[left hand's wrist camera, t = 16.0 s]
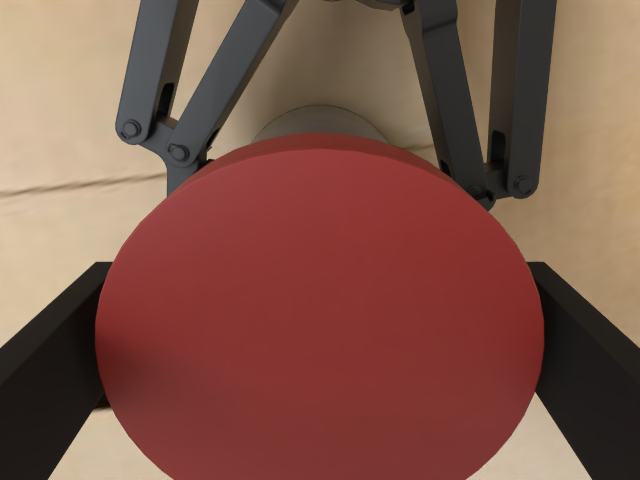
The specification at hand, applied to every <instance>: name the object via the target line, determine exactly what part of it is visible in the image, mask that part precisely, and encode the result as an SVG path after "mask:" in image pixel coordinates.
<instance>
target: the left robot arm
mask: <svg viewBox="0 0 640 480" xmlns="http://www.w3.org/2000/svg"><path fill="white" fill-rule="evenodd" d="M526 263H527V265H528V267H529V268H530V270H531V273H532V276H533V279H534V282H535V284H536V287H537V290H538V293H539V296H540V302H541V307H542V313H543V318H544V353H543V360H542V367H541V372H540V376H539V379H538V383H537V386H536V389H535V392H536V394H537V395H538V397H539V398H540V400H541V401H542V403H543V404H544V406H545V408H546V409H547V411H548V412H549V414H550V415H551V417H552V418H553V420H554V421H555V423H556V424H557V426H558V428H559V429H560V431H561V432H562V434H563V435H564V437H565V438H566V440H567V441H568V443H569V445H570V446H571V448H572V449H573V451H574V452H575V454H576V455H577V457H578V458H579V460H580V461H581V463H582V465H583V466H584V468H585V469H586V471H587V472H588V474H589V475H590V477H591V478H592V480H640V348H639V347H638V346H637V345H636V344H634V343H633V342H632V341H631V340H630V339H629V338H628V337H627V336H626V335H624V334H623V333H622V332H621V331H620V330H619V329H618V328H617V327H616V326H615V325H613V324H612V323H611V322H610V321H609V320H608V319H607V318H606V317H605V316H603V315H602V314H601V313H600V312H599V311H598V310H597V309H596V308H595V307H593V306H592V305H591V304H590V303H589V302H588V301H587V300H586V299H585V298H583V297H582V296H581V295H580V294H579V293H578V292H577V291H576V290H575V289H573V288H572V287H571V286H570V285H569V284H568V283H567V282H566V281H565V280H564V279H562V278H561V277H560V276H559V275H558V274H557V273H556V272H555V271H554V270H552V269H551V268H550V267H549V266H548V265H547V264H546V263H545V262H526ZM112 264H113V262H95V263H94V264H93V265H92V266H91V267H90V268H89V269H88V270H86V271H85V272H84V273H83V274H82V275H81V276H80V277H79V278H78V279H76V280H75V281H74V282H73V283H72V284H71V285H70V286H69V287H68V288H67V289H65V290H64V291H63V292H62V293H61V294H60V295H59V296H58V297H57V298H55V299H54V300H53V301H52V302H51V303H50V304H49V305H48V306H47V307H45V308H44V309H43V310H42V311H41V312H40V313H39V314H38V315H37V316H35V317H34V318H33V319H32V320H31V321H30V322H29V323H28V324H27V325H25V326H24V327H23V328H22V329H21V330H20V331H19V332H18V333H17V334H15V335H14V336H13V337H12V338H11V339H10V340H9V341H8V342H7V343H6V344H4V345H3V346H2V347H1V348H0V480H48V478H49V477H50V475H51V474H52V472H53V471H54V469H55V468H56V466H57V465H58V463H59V461H60V460H61V458H62V457H63V455H64V454H65V452H66V451H67V449H68V448H69V446H70V445H71V443H72V441H73V440H74V438H75V437H76V435H77V434H78V432H79V431H80V429H81V428H82V426H83V424H84V423H85V421H86V420H87V418H88V417H89V415H90V414H91V412H92V411H93V409H94V408H95V406H96V404H97V403H98V401H99V400H100V398H101V397H102V395H103V394H104V392H105V391H104V388H103V384H102V381H101V378H100V374H99V371H98V364H97V357H96V350H95V321H96V315H97V310H98V304H99V298H100V294H101V291H102V288H103V286H104V283H105V280H106V277H107V274H108V271H109V269H110V267H111V265H112Z"/></svg>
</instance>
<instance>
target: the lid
mask: <svg viewBox="0 0 640 480" xmlns="http://www.w3.org/2000/svg"><path fill="white" fill-rule="evenodd" d="M95 350H96V357H97V364H98V371H99V374H100V378H101V381H102V384H103V388H104V391H105V394H106V396H107V399H108V401H109V403H110V405H111V407H112V409H113V411H114V414H115V416H116V417H117V419H118V420H119V422H120V423H121V425H122V427H123V428H124V430H125V431H126V433H127V434H128V436H129V437H130V438H131V439H132V441H133V442H134V443H135V444H136V445H137V447H138V448H139V449H140V450H141V451H142V452H143V454H144V455H145V456H146V457H147V458H149V459H150V460H151V461H152V462H153V463H154V464H155V465H156V466H157V467H158V468H159V469H160V470H162V471H163V472H164V473H166V474H167V475H168V476H170V477H171V478H172V479H174V480H466V479H467V478H468V477H470V476H471V475H473V474H474V473H475V472H477V471H478V470H479V469H480V468H481V467H482V466H483V465H484V464H486V463H487V462H488V461H489V460H490V459H491V458H492V457H493V456H494V455H495V454H496V453H497V452H498V451H499V449H500V448H501V447H502V446H503V445H504V444H505V442H506V441H507V440H508V439H509V438H510V436H511V435H512V434H513V432H514V430H515V429H516V427H517V426H518V424H519V423H520V421H521V420H522V418H523V416H524V415H525V412H526V410H527V408H528V406H529V404H530V402H531V399H532V397H533V395H534V393H535V389H536V386H537V383H538V379H539V376H540V372H541V367H542V360H543V353H544V318H543V313H542V307H541V302H540V296H539V293H538V290H537V287H536V284H535V282H534V279H533V276H532V273H531V270H530V268H529V267H528V265H527V263H526V261H525V259H524V257H523V256H522V254H521V252H520V250H519V248H518V247H517V245H516V244H515V242H514V241H513V240H512V238H511V237H510V236H509V235H508V233H507V232H506V231H505V229H504V228H503V227H502V226H501V224H500V223H499V222H498V221H497V220H496V219H495V218H494V217H493V216H492V215H491V214H490V213H489V212H488V211H487V210H485V209H484V208H483V207H482V206H481V205H480V204H479V203H478V202H477V201H476V200H475V199H474V198H473V197H471V196H470V195H469V194H468V193H467V192H466V191H465V190H464V189H463V188H461V187H460V186H459V185H458V184H457V183H456V182H455V181H454V180H453V179H452V178H450V177H449V176H448V175H446V174H445V173H443V172H442V171H441V170H439V169H438V168H436V167H435V166H433V165H432V164H431V163H429V162H428V161H426V160H424V159H422V158H420V157H418V156H416V155H414V154H412V153H410V152H408V151H406V150H404V149H402V148H399V147H396V146H393V145H390V144H387V143H384V142H381V141H378V140H375V139H370V138H365V137H360V136H355V135H350V134H338V133H322V132H316V133H302V134H289V135H284V136H280V137H275V138H270V139H265V140H261V141H258V142H255V143H252V144H249V145H247V146H244V147H241V148H238V149H235V150H233V151H231V152H229V153H227V154H226V155H224V156H222V157H220V158H218V159H216V160H214V161H212V162H210V163H209V164H207V165H206V166H205V167H203V168H202V169H200V170H199V171H198V172H196V173H195V174H193V175H192V176H190V177H189V178H188V179H187V180H186V181H185V182H183V183H182V184H181V185H180V186H179V187H178V188H177V189H176V190H175V191H173V192H172V193H171V194H170V195H169V196H168V197H167V198H166V199H164V200H163V201H162V202H161V203H160V204H159V205H158V206H157V207H156V208H155V209H154V210H153V211H152V212H151V213H150V214H149V215H148V216H147V217H145V218H144V219H143V220H142V221H141V222H140V223H139V225H138V226H137V227H136V229H135V230H134V231H133V232H132V234H131V235H130V236H129V238H128V239H127V240H126V242H125V243H124V244H123V245H122V247H121V249H120V251H119V253H118V254H117V256H116V258H115V260H114V262H113V264H112V265H111V267H110V269H109V271H108V274H107V277H106V280H105V283H104V286H103V288H102V291H101V294H100V298H99V304H98V310H97V315H96V321H95Z"/></svg>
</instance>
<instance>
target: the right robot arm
mask: <svg viewBox="0 0 640 480" xmlns="http://www.w3.org/2000/svg"><path fill="white" fill-rule="evenodd" d="M298 1H299V0H246V1H245V3H244V5H243V6H242V8H241V10H240V12H239V13H238V15H237V17H236V19H235V21H234V22H233V24H232V26H231V28H230V30H229V31H228V33H227V35H226V37H225V39H224V40H223V42H222V44H221V46H220V48H219V49H218V51H217V53H216V55H215V56H214V58H213V60H212V62H211V64H210V65H209V67H208V69H207V71H206V73H205V74H204V76H203V78H202V80H201V82H200V83H199V85H198V87H197V89H196V91H195V92H194V94H193V96H192V98H191V99H190V101H189V103H188V105H187V107H186V108H185V110H184V112H183V114H182V116H181V117H180V119H179V121H177V120H175V119H173V118H171V117H170V114H171V110H172V106H173V102H174V98H175V94H176V90H177V86H178V82H179V78H180V74H181V70H182V66H183V63H184V59H185V55H186V51H187V47H188V43H189V39H190V35H191V31H192V27H193V23H194V19H195V15H196V11H197V7H198V3H199V0H141V3H140V8H139V12H138V17H137V22H136V27H135V32H134V36H133V41H132V46H131V51H130V56H129V60H128V65H127V70H126V75H125V80H124V84H123V89H122V94H121V99H120V104H119V108H118V113H117V118H116V123H115V129H116V132H117V135H118V136H119V137H120V139H121V140H122V141H124V142H125V143H127V144H131V145H137V144H138V145H140V146H142V147H144V148H146V149H148V150H150V151H152V152H154V153H156V154H157V155H159V156H160V157H161V158H162V159H163V161H164V162H165V165H166V167H167V197H168V196H169V195H170V194H171V193H172V192H173V191H175V190H176V189H177V188H178V187H179V186H180V185H181V184H182V183H183V182H185V181H186V180H187V179H188V178H189V177H190V176H192V175H193V174H195V173H196V172H198V171H199V170H200V169H202V168H203V167H205V166H206V165H207V164H209V163H210V162H212V161H214V159H208V160H207V161H206V159H207V152H208V151H209V150H210V149H211V148H212V147H211V145H212V143H213V141H214V140H215V138H216V136H217V135H218V133H219V131H220V130H221V128H222V126H223V125H224V123H225V121H226V120H227V118H228V116H229V115H230V113H231V111H232V110H233V108H234V106H235V105H236V103H237V101H238V99H239V98H240V96H241V94H242V93H243V91H244V89H245V88H246V86H247V84H248V83H249V81H250V79H251V78H252V76H253V74H254V73H255V71H256V69H257V68H258V66H259V64H260V63H261V61H262V59H263V58H264V56H265V54H266V53H267V51H268V49H269V47H270V46H271V44H272V42H273V41H274V39H275V37H276V36H277V34H278V32H279V31H280V29H281V27H282V26H283V24H284V22H285V21H286V19H287V18H288V17H289V16H290V14H291V13H292V11H293V10H294V8H295V6H296V5H297V3H298ZM325 1H331V2H332V1H339V0H325ZM357 1H359V2H361V3H363V4H365V5H367V6H369V7H371V8H375V9H381V10H388V11H393V10H394V9H396V8H399V9H400V13H401V17H402V21H403V25H404V29H405V32H406V34H407V36H408V38H409V41H410V45H411V49H412V53H413V58H414V62H415V66H416V70H417V74H418V79H419V83H420V87H421V91H422V96H423V100H424V104H425V108H426V112H427V117H428V121H429V125H430V129H431V133H432V138H433V142H434V146H435V150H436V155H437V159H438V163H439V167H440V170H441V171H442V172H443V173H445V174H446V175H448V176H449V177H450V178H452V179H453V180H454V181H455V182H456V183H457V184H458V185H459V186H460V187H461V188H463V189H464V190H465V191H466V192H467V193H468V194H469V195H470V196H471V197H473V198H474V199H475V200H476V201H477V202H478V203H479V204H480V205H481V206H482V207H483V208H484V209H485V210H487V211H489V210H490V209H491V208H492V207H493V206H494V204H495V201H496V199H501V198H507V197H512V196H513V197H514V198H517V199H523V198H527V197H529V196H530V195H532V194H533V193H534V192H535V190H536V189H537V186H538V182H539V172H540V162H541V152H542V142H543V132H544V122H545V112H546V103H547V93H548V83H549V73H550V63H551V53H552V43H553V33H554V23H555V13H556V3H557V0H496V8H495V24H494V42H493V60H492V78H491V95H490V113H489V131H488V149H487V163H484V162H483V157H482V152H481V147H480V142H479V137H478V132H477V127H476V122H475V117H474V112H473V107H472V102H471V97H470V92H469V87H468V82H467V77H466V72H465V67H464V62H463V57H462V52H461V47H460V42H459V37H458V32H457V26H456V22H457V4H456V0H357Z"/></svg>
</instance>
